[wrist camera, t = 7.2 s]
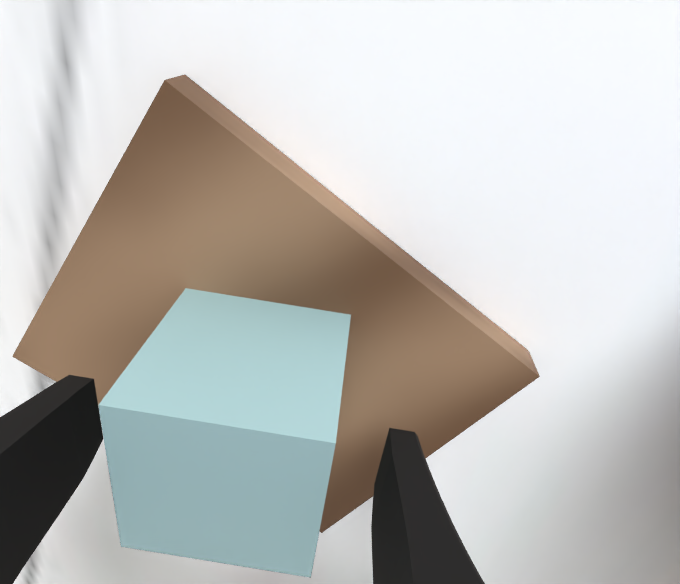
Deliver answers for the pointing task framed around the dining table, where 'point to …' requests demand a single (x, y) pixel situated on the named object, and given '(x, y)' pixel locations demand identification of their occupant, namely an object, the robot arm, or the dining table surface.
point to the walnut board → (269, 284)
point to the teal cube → (228, 431)
